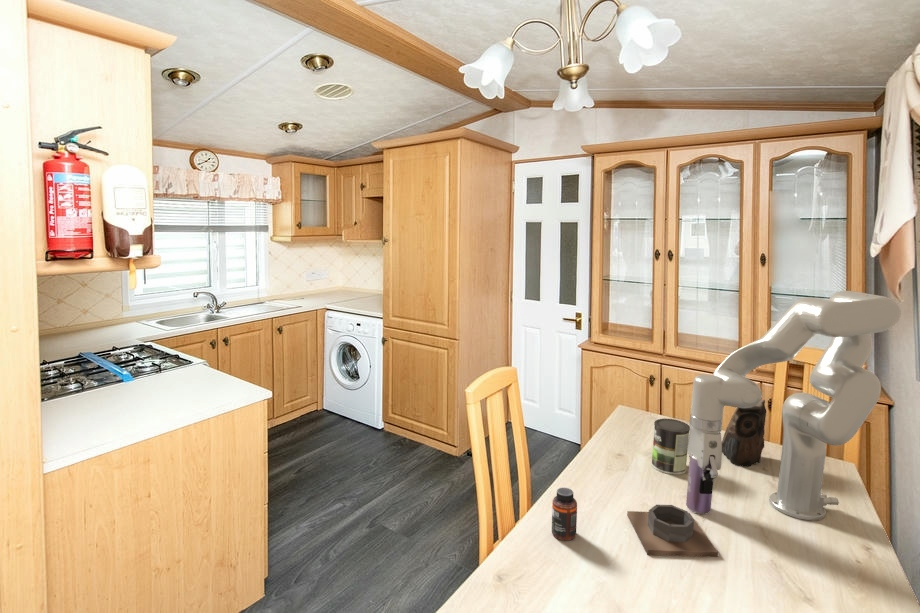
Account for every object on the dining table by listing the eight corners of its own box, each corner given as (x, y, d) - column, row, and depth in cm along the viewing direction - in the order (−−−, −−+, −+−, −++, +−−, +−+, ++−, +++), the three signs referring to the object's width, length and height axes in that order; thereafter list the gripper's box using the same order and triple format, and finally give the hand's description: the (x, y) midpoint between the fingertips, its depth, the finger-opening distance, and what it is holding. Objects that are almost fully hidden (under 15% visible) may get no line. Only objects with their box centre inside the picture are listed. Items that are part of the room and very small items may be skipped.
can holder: (689, 517, 131) (690, 498, 130) (717, 556, 116) (719, 536, 115) (627, 515, 132) (628, 497, 131) (647, 554, 116) (648, 534, 115)
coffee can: (655, 473, 154) (658, 430, 152) (648, 458, 164) (650, 417, 162) (691, 476, 153) (694, 432, 151) (681, 460, 163) (684, 419, 161)
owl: (761, 455, 167) (767, 397, 164) (770, 472, 156) (777, 410, 153) (719, 449, 172) (724, 393, 169) (724, 465, 160) (730, 405, 157)
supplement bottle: (577, 529, 125) (579, 487, 124) (574, 543, 120) (576, 499, 118) (553, 525, 127) (554, 483, 126) (549, 538, 122) (551, 495, 120)
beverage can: (713, 516, 132) (718, 462, 129) (688, 513, 133) (693, 460, 130) (706, 504, 137) (711, 452, 135) (683, 501, 139) (687, 450, 136)
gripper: (737, 436, 123) (730, 505, 125) (705, 410, 140) (700, 471, 142) (705, 435, 123) (699, 504, 126) (678, 410, 140) (673, 471, 143)
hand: (700, 486), depth 134 cm, fingers closed on beverage can, 5 cm apart
